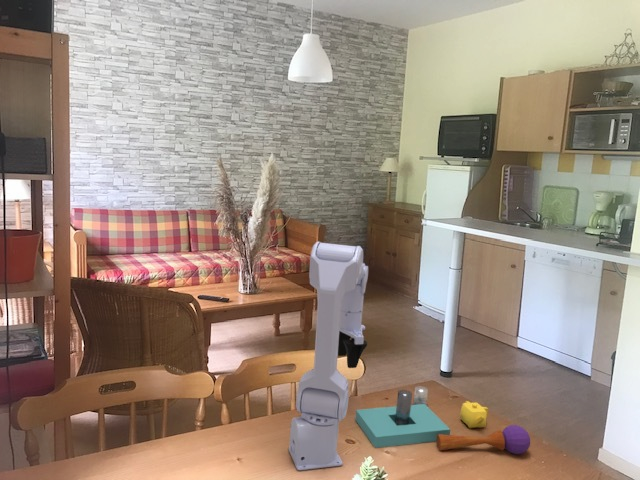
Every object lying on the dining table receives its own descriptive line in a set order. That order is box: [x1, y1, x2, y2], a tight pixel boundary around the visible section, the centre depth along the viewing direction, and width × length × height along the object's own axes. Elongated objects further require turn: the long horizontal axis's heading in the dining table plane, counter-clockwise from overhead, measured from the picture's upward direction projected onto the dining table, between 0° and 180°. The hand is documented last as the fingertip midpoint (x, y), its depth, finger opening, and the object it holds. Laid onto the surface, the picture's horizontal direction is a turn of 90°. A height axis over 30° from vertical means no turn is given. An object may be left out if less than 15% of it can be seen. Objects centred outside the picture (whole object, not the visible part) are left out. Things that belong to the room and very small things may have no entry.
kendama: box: [436, 424, 531, 455], centre depth 115 cm, size 6×6×20 cm
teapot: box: [459, 400, 489, 429], centre depth 125 cm, size 8×6×5 cm
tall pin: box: [395, 389, 413, 426], centre depth 120 cm, size 3×3×9 cm
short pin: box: [412, 385, 429, 406], centre depth 133 cm, size 3×3×4 cm
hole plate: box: [354, 404, 451, 449], centre depth 121 cm, size 18×12×2 cm, turn 107°
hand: (346, 361), depth 133 cm, fingers open, 7 cm apart
